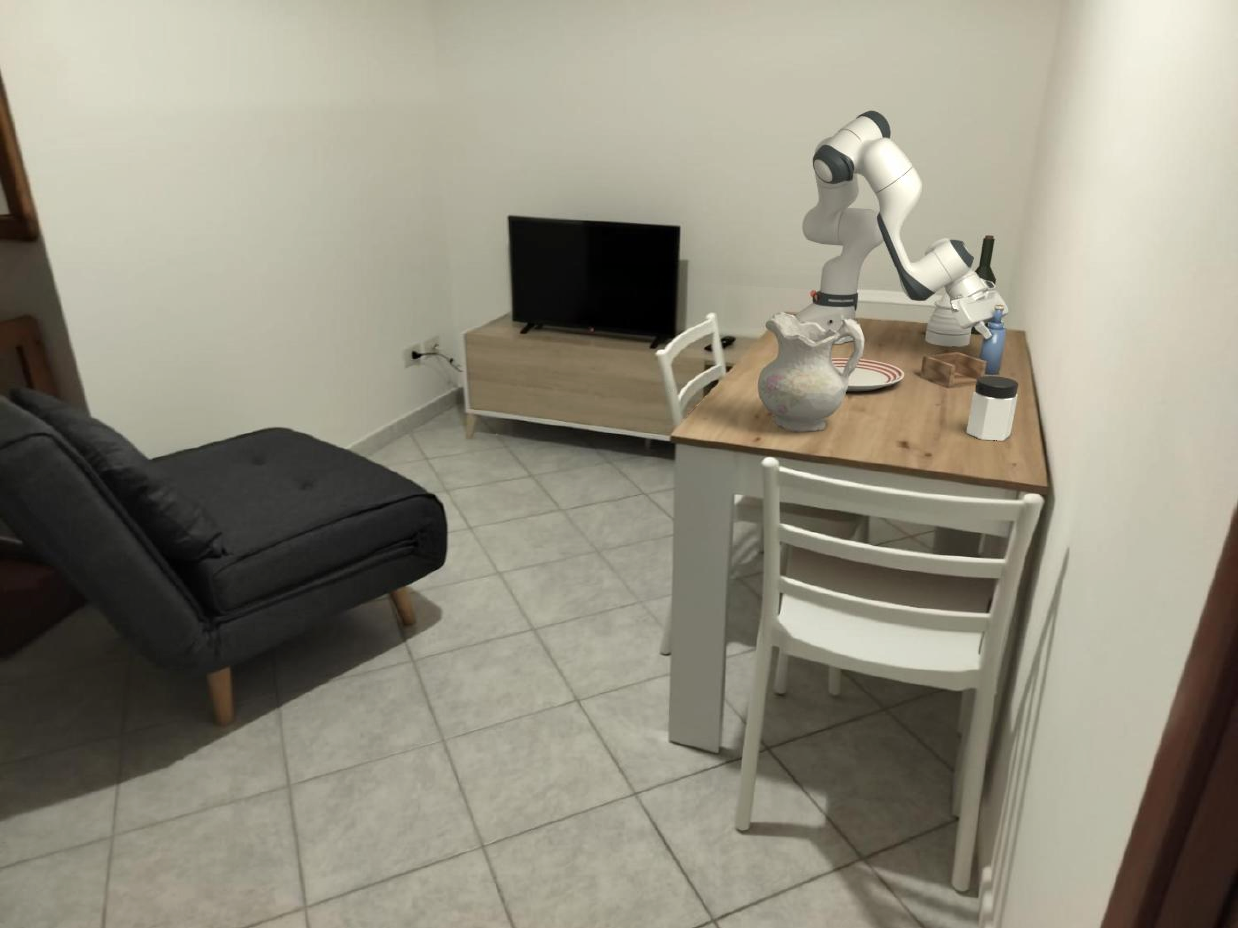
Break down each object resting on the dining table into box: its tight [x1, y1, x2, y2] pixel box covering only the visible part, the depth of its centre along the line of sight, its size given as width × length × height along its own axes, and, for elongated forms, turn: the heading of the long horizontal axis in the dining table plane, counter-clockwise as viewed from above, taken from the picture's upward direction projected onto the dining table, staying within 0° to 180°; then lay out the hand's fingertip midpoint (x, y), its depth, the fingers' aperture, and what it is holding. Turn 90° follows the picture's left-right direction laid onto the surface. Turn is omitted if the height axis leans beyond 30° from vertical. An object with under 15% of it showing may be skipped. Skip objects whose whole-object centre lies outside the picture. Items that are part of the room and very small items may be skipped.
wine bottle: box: [971, 234, 997, 336], centre depth 262 cm, size 8×8×30 cm
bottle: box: [978, 305, 1007, 376], centre depth 221 cm, size 5×5×18 cm
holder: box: [920, 351, 987, 389], centre depth 217 cm, size 10×11×6 cm
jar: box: [966, 375, 1019, 442], centre depth 178 cm, size 9×8×12 cm
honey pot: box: [924, 292, 972, 347], centre depth 253 cm, size 13×13×18 cm
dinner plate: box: [831, 357, 905, 392], centre depth 217 cm, size 27×27×3 cm
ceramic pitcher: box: [757, 311, 865, 433], centre depth 182 cm, size 22×20×25 cm
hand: (996, 335), depth 221 cm, fingers closed on bottle, 5 cm apart
